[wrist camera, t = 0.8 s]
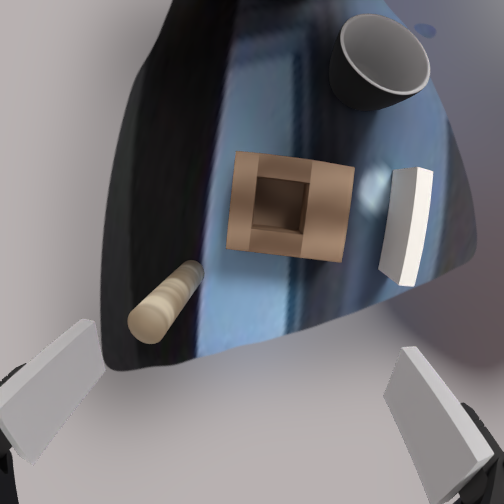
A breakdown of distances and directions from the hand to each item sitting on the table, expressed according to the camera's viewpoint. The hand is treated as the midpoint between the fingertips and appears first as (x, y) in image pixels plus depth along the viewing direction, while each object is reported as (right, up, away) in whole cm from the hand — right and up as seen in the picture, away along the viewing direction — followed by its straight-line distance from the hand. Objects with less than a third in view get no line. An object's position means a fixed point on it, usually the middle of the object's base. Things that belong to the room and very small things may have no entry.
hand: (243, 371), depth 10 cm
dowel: (-7, +2, +22) cm, 23 cm away
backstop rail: (+17, +8, +20) cm, 27 cm away
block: (+4, +10, +20) cm, 23 cm away
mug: (+13, +26, +16) cm, 33 cm away
